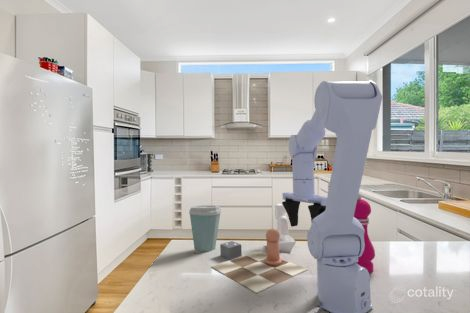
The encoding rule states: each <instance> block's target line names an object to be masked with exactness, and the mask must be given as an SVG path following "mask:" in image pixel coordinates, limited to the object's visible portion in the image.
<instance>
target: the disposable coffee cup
mask: <svg viewBox="0 0 470 313" xmlns="http://www.w3.org/2000/svg"><path fill="white" fill-rule="evenodd" d="M188 211H189V213H188V214H189V219H190V226H191V232H192V241H193V247H194V250H195V253H196V252H197V253H196V254H198V253H200V254H202V253H207V252H211V251H214V250H216V246H217V240H218V239H217V238H218V231H219V224H220V218H221V214H222V210H221V207H220V206H219V205H215V204H214V205H212V204H204V205H203V204H202V205H195V206H194V205H193V206H191V207H190V209H189V210H188Z"/></svg>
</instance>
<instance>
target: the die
mask: <svg viewBox="0 0 470 313" xmlns="http://www.w3.org/2000/svg"><path fill="white" fill-rule="evenodd" d="M219 244H220V245H219V246H220V247H219V248H220V250H219V251H220V252H219V253H220V256H221V257H223V258H225V259H226V260H227V261H231V260H234V259H237V258H241V257H243V256H242V244H241V243H238V242H236V241H233V240H231V241H228V242H224V243H219Z"/></svg>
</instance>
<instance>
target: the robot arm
mask: <svg viewBox="0 0 470 313" xmlns="http://www.w3.org/2000/svg"><path fill="white" fill-rule="evenodd" d="M313 99H314V100H313V101H314V103H313V104H314V108H315V109H314V110H315V111H314V112H313V115H312V116H311V119H308V120H306V121H305V122H304V123H303V124H302V126H301V127H300V129H299V131H298V132H297V133H296V134H291V135H290V136H289V141H288V152H289V156H290V157H291V162H292V163H291V164H292V167H291V168H292V192H282V200H283V201H281V204H282V205H283V206H284V208H285V210H286V215H287V218H288V220H289V221H288V222H289V223H290V227H292V228H293V227H297V226H298V225H299V210H300V206H301V203H307V204H310V205H307V208H308V211H309V214H310V220H311V222H310V223H311V225H310V227H309V230H307V234H306V235H307V236H306V242H307V247H308V250H309V253H310V255H311V256H312V257H313V258H314V259H315V260H316V275H317V276H316V277H317V278H316V280H317V298H318V300H319V301H320V303H319V304H317V306H318V307H319V308H321V309H323V310H326V311H327V312H330V313H367V312H369V311H370V310H371V309H372V308H373V304H372V301H371V300H372V299H371V298H372V297H371V276H370V273H369V272H368V270H367V269H365V268H364V267H361V266H360V265H358V264H357V263H356V262H358V257H360V256H361V255H362V254H363V251H364V247H365V243H364V233H365V230H364V228H363V226H362V224H361V223H360V222H359V221H358V220H357V219H356V218H355V217H354V212H355V208H356V203H357V199H358V194H360V190H361V188H360V187H361V184H362V179H363V175H364V170H365V166H366V165H365V164H366V161H367V156H368V151H369V146H370V144H371V143H370V142H371V137H372V133H373V132H372V131H374V130H375V129H376V128H377V122H378V119H379V113H380V110H381V105H382V100H383V95H382V92H381V91H380V88H379V86H378V85H377V83H376V82H374V81H373V80H366V81H328V80H322V81H321V82H320V83H319V84H318V86H317V87H316V89H315V92H314V98H313ZM326 130H327V131H329V132H331V133H334V134H335V135H336V143H335V148H334V156H333V160H332V161H333V162H332V166H331V167H332V168H331V175H330V180H329V185H328V186H329V187H328V191H327V196H321V195H318V194H315V162H316V159H317V157H316V155H317V150H318V145H319V143H320V142H321V141H322V139H324V138H325V135H326Z"/></svg>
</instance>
